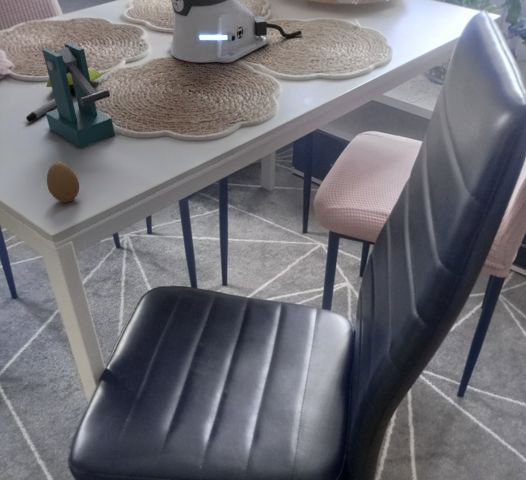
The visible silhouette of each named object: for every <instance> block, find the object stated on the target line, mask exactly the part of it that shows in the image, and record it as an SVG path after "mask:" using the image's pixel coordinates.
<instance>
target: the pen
mask: <svg viewBox="0 0 526 480" xmlns="http://www.w3.org/2000/svg"><path fill="white" fill-rule="evenodd" d="M70 92H71V96H72V97H73V95H76V93H75V89H74V86H72V87H71V88H70ZM55 107H57V106H56V102H55V98H53V99H51V100H50V101H48V102H46V103H45V104H43V105H41V106H40V107H38V108H36V109H35V110H33V111H31V112H30V113H29V114H28V115H26V117H25V118H26V121H27V122H32V121H35V120H37V119H38V118H39V117H41V116H43V115H44V114H46V113H47V112H50V111H51V110H52V109H53V108H55Z"/></svg>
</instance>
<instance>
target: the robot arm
mask: <svg viewBox="0 0 526 480" xmlns="http://www.w3.org/2000/svg"><path fill="white" fill-rule="evenodd" d="M170 1H171V5H172V10H173V12H172V13H173V14H172V15H173V23H172V24H173V25H172V27H173V29H172V40H171V41H172V42H171V49H170V54H171V55H172V57H174V58H175V59H178V60H180V61H184V62H189V63H190V62H191V63H226V64H227V63H228V64H229V63H232V62H235V61H236V60H238V59H241V58H242V57H244V56H246V55H248V54H251V53H252V52H254V51H256V50H258V49H259V48H262V47H264V46H265V45H267V44H268V39H267V37H266V36H267V35H268V29H274V30H277V31H278V32H279V33H280V35H281V36H282V37H283V38H286V39H290V38H294V37H297V36H301V35H302V30H297V31H293V32H289V33H286V32H285V31H284V29H283V27H281V26H280V25H278V24H276V23H270V22H269V23H268V21H267V20H266V19H265V18H264V17H263V16H262V15H259V16H258V15H257V16H255V15H254V13H253V12H252V11H251V10H250V9H249V8H248V7H246V6H245V5H244V4H242V3H241V2H240V1H238V0H170Z"/></svg>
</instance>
